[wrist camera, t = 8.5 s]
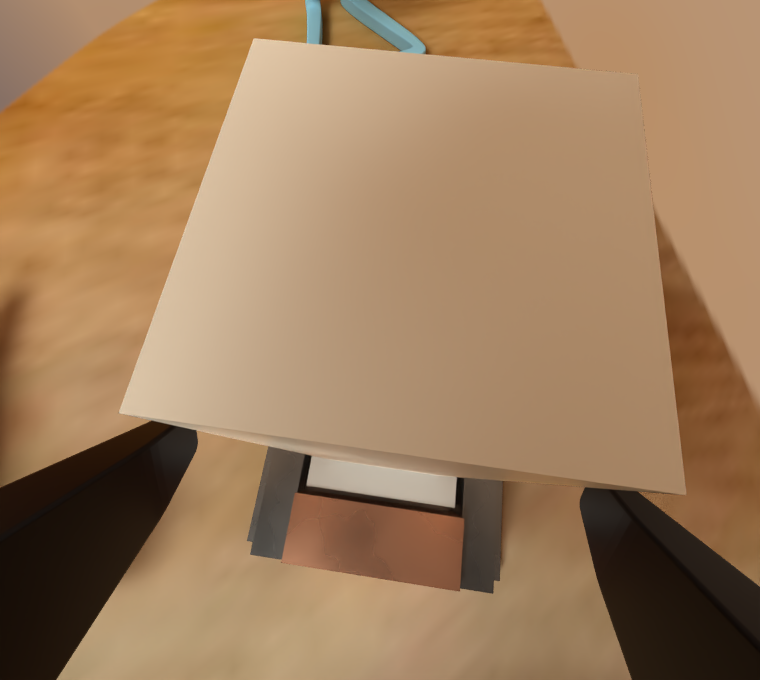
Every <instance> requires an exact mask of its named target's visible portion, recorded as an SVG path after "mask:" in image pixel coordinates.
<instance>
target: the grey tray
mask: <svg viewBox="0 0 760 680" xmlns="http://www.w3.org/2000/svg"><path fill="white" fill-rule="evenodd" d="M311 458H312V456H311V455H306V454H302V453H297V452H293V451H288V450H283V449H279V448H274V447H270V446H268V451H267V455H266V460H265V464H264V468H263V473H262V477H261V482H260V486H259V491H258V495H257V499H256V504H255V508H254V513H253V517H252V521H251V526H250V530H249V535H248V539H247V541H250V542H253V544H252V549H251V553H250V555H256V556H262V557H268V558H275V559H281V560H282V561H281V563H286V564H293V565H299V566H305V567H311V568H318V569H324V570H330V571H336V572H342V573H349V574H355V575H361V576H367V577H373V578H380V579H386V580H392V581H398V582H404V583H411V584H417V585H423V586H429V587H435V588H442V589H448V590H454V591H460V588H461V589H468V590H474V591H480V592H486V593H493V587H494V580H496V581H500V554H501V522H502V491H503V481H500V480H487V479H475V478H462V477H457V481H456V496H455V508H452V507H446V506H439V505H432V504H426V503H419V502H412V501H406V500H399V499H392V498H386V497H379V496H372V495H366V494H359V493H352V492H346V491H339V490H333V489H326V488H319V487H313V486H306V485H307V479H308V474H309V469H310V463H311Z"/></svg>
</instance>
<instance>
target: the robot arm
mask: <svg viewBox="0 0 760 680" xmlns="http://www.w3.org/2000/svg"><path fill="white" fill-rule="evenodd" d="M197 445H198V439H197V432H196V430H193V429H188V428H184V427H179V426H175V425H170V424H165V423H161V422H156V421H150V422H148V423H146V424H143V425H141V426H139V427H137V428H134V429H132V430H130V431H128V432H125V433H123V434H121V435H118V436H116V437H114V438H112V439H109V440H107V441H105V442H103V443H100V444H98V445H96V446H94V447H91V448H89V449H87V450H84V451H82V452H80V453H78V454H75V455H73V456H71V457H69V458H66V459H64V460H62V461H60V462H57V463H55V464H53V465H50V466H48V467H46V468H44V469H41V470H39V471H37V472H35V473H32V474H30V475H28V476H25V477H23V478H21V479H19V480H16V481H14V482H12V483H10V484H7V485H5V486H3V487H1V488H0V680H56V679H57V678H58V676H59V675H60V673H61V672H62V670H63V669H64V667H65V665H66V664H67V662H68V661H69V659H70V658H71V656H72V655H73V653H74V652H75V650H76V648H77V647H78V645H79V644H80V642H81V641H82V639H83V638H84V636H85V635H86V633H87V631H88V630H89V628H90V627H91V625H92V624H93V622H94V621H95V619H96V618H97V616H98V614H99V613H100V611H101V610H102V608H103V607H104V605H105V604H106V602H107V601H108V599H109V597H110V596H111V594H112V593H113V591H114V590H115V588H116V587H117V585H118V584H119V582H120V580H121V579H122V577H123V576H124V574H125V573H126V571H127V570H128V568H129V567H130V565H131V563H132V562H133V560H134V559H135V557H136V556H137V554H138V553H139V551H140V550H141V548H142V546H143V545H144V543H145V542H146V540H147V539H148V537H149V536H150V534H151V533H152V531H153V529H154V528H155V526H156V525H157V523H158V522H159V520H160V518H161V517H162V515H163V514H164V512H165V510H166V508H167V506H168V505H169V503H170V501H171V499H172V497H173V495H174V493H175V491H176V489H177V487H178V485H179V483H180V481H181V479H182V477H183V475H184V474H185V472H186V470H187V468H188V466H189V464H190V462H191V460H192V458H193V456H194V454H195V452H196V449H197ZM580 510H581V515H582V519H583V523H584V527H585V531H586V535H587V540H588V544H589V548H590V552H591V556H592V560H593V564H594V569H595V572H596V576H597V580H598V583H599V586H600V589H601V592H602V595H603V598H604V601H605V604H606V607H607V609H608V612H609V615H610V618H611V621H612V624H613V627H614V629H615V632H616V635H617V638H618V641H619V644H620V647H621V650H622V652H623V655H624V658H625V661H626V664H627V667H628V670H629V673H630V675H631V678H632V680H760V587H759V586H758V585H757V584H756V583H754V582H753V581H752V580H750V579H749V578H748V577H747V576H745V575H744V574H743V573H741V572H740V571H739V570H738V569H736V568H735V567H734V566H732V565H731V564H730V563H729V562H727V561H726V560H725V559H723V558H722V557H721V556H720V555H718V554H717V553H716V552H714V551H713V550H712V549H711V548H709V547H708V546H707V545H705V544H704V543H703V542H702V541H700V540H699V539H698V538H696V537H695V536H694V535H693V534H691V533H690V532H689V531H687V530H686V529H685V528H684V527H682V526H681V525H680V524H678V523H677V522H676V521H675V520H673V519H672V518H671V517H669V516H668V515H667V514H666V513H664V512H663V511H662V510H660V509H659V508H658V507H657V506H655V505H654V504H653V503H651V502H650V501H649V500H648V499H646V498H645V497H644V496H642V495H641V494H640V493H639V492H637V491H626V490H613V489H601V488H588V487H585V489H584V491H583V493H582V496H581V498H580Z"/></svg>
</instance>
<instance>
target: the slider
mask: <svg viewBox="0 0 760 680" xmlns="http://www.w3.org/2000/svg"><path fill="white" fill-rule="evenodd" d="M119 413H120V414H125V415H129V416H134V417H138V418H143V419H147V420H152V421H156V422H161V423H165V424H170V425H175V426H179V427H184V428H188V429H193V430H197V431H202V432H206V433H211V434H215V435H220V436H224V437H229V438H234V439H238V440H243V441H247V442H252V443H256V444H261V445H265V446H270V447H274V448H279V449H283V450H288V451H293V452H297V453H302V454H306V455H311V456H312V458H311V463H310V469H309V474H308V479H307V485H306V486H313V487H319V488H326V489H333V490H339V491H346V492H352V493H359V494H366V495H372V496H379V497H386V498H392V499H399V500H406V501H412V502H419V503H426V504H432V505H439V506H446V507H452V508H455V496H456V481H457V477H462V478H475V479H487V480H500V481H513V482H525V483H538V484H550V485H563V486H576V487H588V488H601V489H613V490H626V491H639V492H651V493H664V494H676V495H687V494H686V485H685V476H684V468H683V459H682V450H681V442H680V433H679V424H678V416H677V407H676V398H675V390H674V381H673V373H672V364H671V355H670V347H669V338H668V329H667V321H666V312H665V303H664V295H663V286H662V277H661V269H660V260H659V251H658V243H657V234H656V226H655V217H654V208H653V200H652V191H651V182H650V174H649V165H648V156H647V148H646V140H645V130H644V122H643V114H642V105H641V96H640V88H639V80H638V74H632V73H621V72H610V71H600V70H589V69H578V68H567V67H556V66H546V65H535V64H524V63H513V62H503V61H492V60H481V59H470V58H460V57H449V56H438V55H427V54H416V53H406V52H395V51H384V50H373V49H363V48H352V47H341V46H330V45H320V44H309V43H298V42H287V41H277V40H266V39H255V38H254V40H253V42H252V45H251V48H250V51H249V53H248V56H247V59H246V62H245V64H244V67H243V70H242V73H241V76H240V78H239V81H238V84H237V87H236V89H235V92H234V95H233V98H232V100H231V103H230V106H229V109H228V112H227V114H226V117H225V120H224V123H223V125H222V128H221V131H220V134H219V136H218V139H217V142H216V145H215V148H214V150H213V153H212V156H211V159H210V161H209V164H208V167H207V170H206V172H205V175H204V178H203V181H202V184H201V186H200V189H199V192H198V195H197V197H196V200H195V203H194V206H193V208H192V211H191V214H190V217H189V220H188V222H187V225H186V228H185V231H184V233H183V236H182V239H181V242H180V244H179V247H178V250H177V253H176V256H175V258H174V261H173V264H172V267H171V269H170V272H169V275H168V278H167V280H166V283H165V286H164V289H163V292H162V294H161V297H160V300H159V303H158V305H157V308H156V311H155V314H154V316H153V319H152V322H151V325H150V328H149V330H148V333H147V336H146V339H145V341H144V344H143V347H142V350H141V353H140V355H139V358H138V361H137V364H136V366H135V369H134V372H133V375H132V377H131V380H130V383H129V386H128V389H127V391H126V394H125V397H124V400H123V402H122V405H121V408H120V411H119Z"/></svg>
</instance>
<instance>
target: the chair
mask: <svg viewBox="0 0 760 680" xmlns="http://www.w3.org/2000/svg"><path fill="white" fill-rule="evenodd" d="M340 1H341V4H342V6H343V7H344V8H345V9H346V11H348V12H349V13H350V14H351V15H352V16H354V17H355V18H356V19H357V20H359V21H360V22H362V23H363V24H364V25H366V26H367V27H368V28H370V29H371V30H373V31H374V32H375V33H377V34H378V35H380V36H381V37H382V38H384V39H385V40H387V41H388V42H390V43H391V44H392V45H394V46H395V47H397V48H398V49H399V50H401V51H399V52H406V53H416V54H425V53H426V48H425V46H424V44H423V43H422V42H421V41H420V40H419V39H418V38H417V37H416V36H414V35H413V34H412V33H411V32H409V31H408V30H407V29H405V28H404V27H403V26H401V25H400V24H399V23H397V22H396V21H395V20H393V19H392V18H390V17H389V16H388V15H386V14H385V13H384V12H382V11H381V10H379V9H378V8H377V7H375V6H374V5H373V4H371V3H370V2H369V1H367V0H340ZM305 4H306V11H307V43H309V44H320V45H322V14H321V5H320V0H305Z"/></svg>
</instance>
